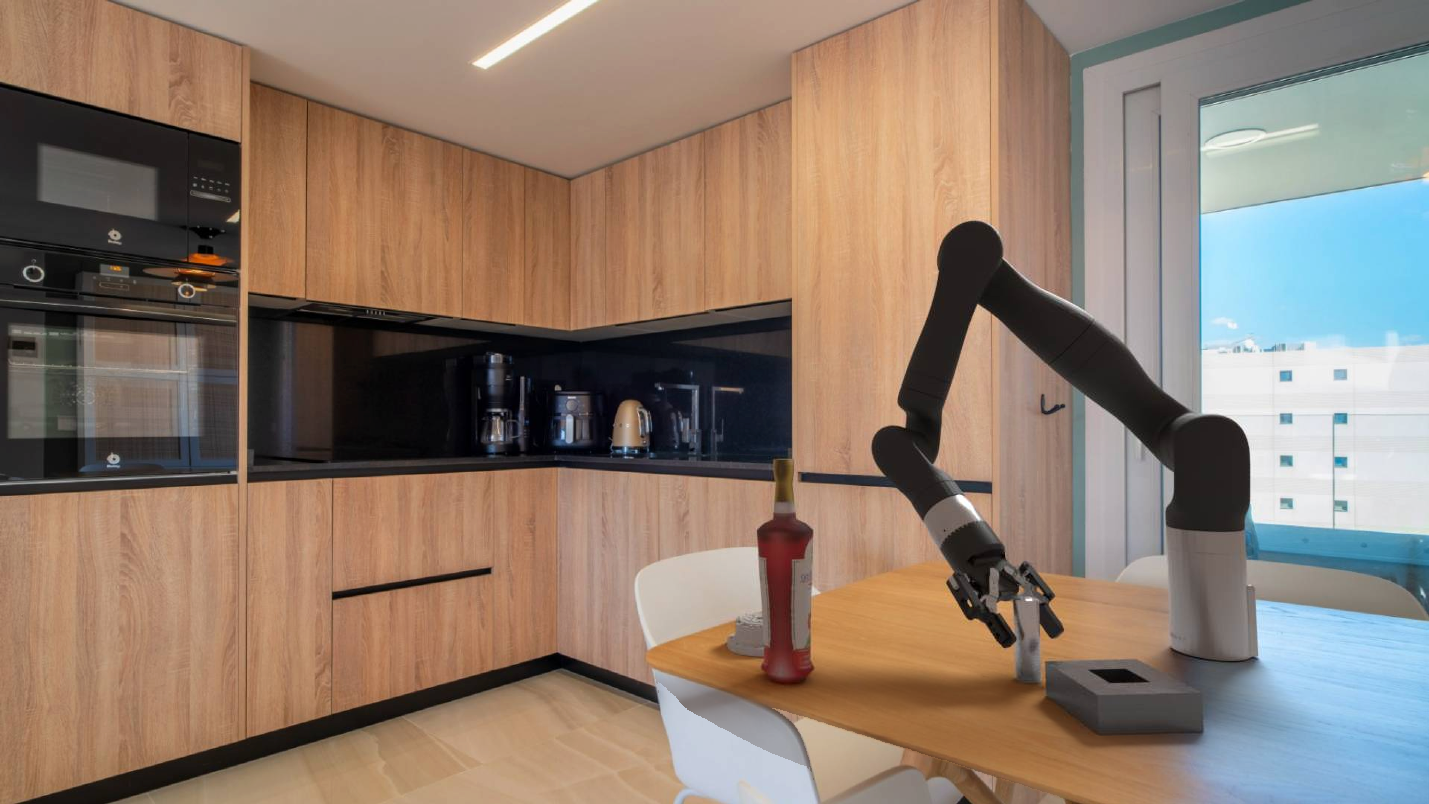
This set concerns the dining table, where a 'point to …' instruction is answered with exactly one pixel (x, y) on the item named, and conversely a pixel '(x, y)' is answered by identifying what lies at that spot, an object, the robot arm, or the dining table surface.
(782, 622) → the liquor
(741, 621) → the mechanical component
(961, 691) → the dining table surface
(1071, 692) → the square hole block
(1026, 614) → the steel pin
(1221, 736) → the dining table surface
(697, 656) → the dining table surface
